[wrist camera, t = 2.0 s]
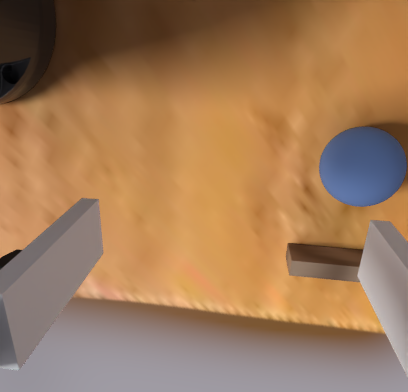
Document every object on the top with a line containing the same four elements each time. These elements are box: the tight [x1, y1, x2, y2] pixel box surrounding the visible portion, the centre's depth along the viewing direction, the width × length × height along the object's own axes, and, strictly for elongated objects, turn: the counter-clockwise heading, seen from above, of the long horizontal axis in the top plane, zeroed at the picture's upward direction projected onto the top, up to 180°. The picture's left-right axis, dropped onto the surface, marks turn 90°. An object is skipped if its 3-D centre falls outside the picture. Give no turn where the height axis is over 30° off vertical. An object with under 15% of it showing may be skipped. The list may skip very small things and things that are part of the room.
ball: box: [319, 127, 407, 207], centre depth 26 cm, size 6×6×6 cm
